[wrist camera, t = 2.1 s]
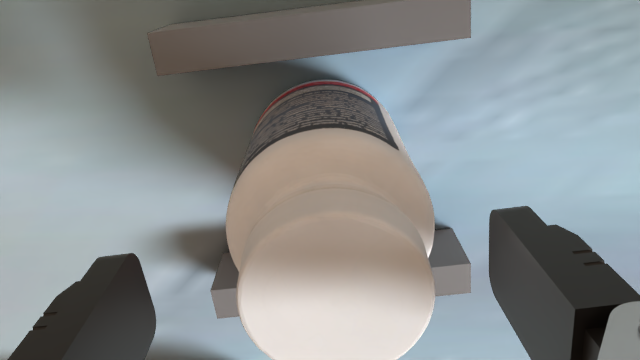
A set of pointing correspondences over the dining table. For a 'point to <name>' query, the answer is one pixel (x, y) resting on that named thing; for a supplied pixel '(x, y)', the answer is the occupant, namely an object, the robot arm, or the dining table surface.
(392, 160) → the pill bottle
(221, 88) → the dining table surface
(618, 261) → the dining table surface
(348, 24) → the grey blocks
